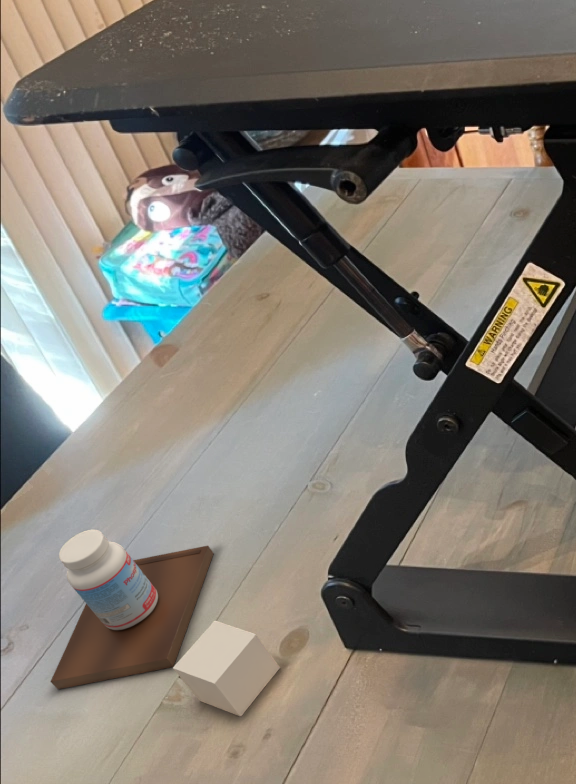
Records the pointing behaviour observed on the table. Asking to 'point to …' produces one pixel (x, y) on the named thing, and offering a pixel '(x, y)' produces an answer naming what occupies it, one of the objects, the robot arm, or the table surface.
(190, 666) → the white cube
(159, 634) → the serving tray
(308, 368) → the table surface
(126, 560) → the pill bottle
